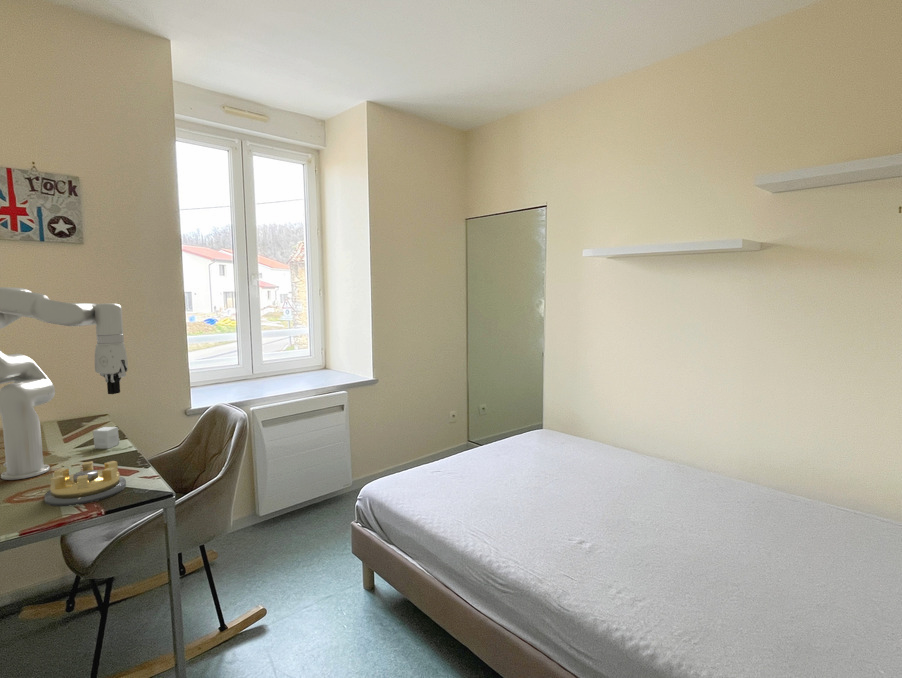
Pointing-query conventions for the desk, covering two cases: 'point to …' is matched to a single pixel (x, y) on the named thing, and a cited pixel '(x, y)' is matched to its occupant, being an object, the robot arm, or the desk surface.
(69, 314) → the robot arm
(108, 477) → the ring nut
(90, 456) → the desk surface
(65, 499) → the base plate
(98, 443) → the skincare box
